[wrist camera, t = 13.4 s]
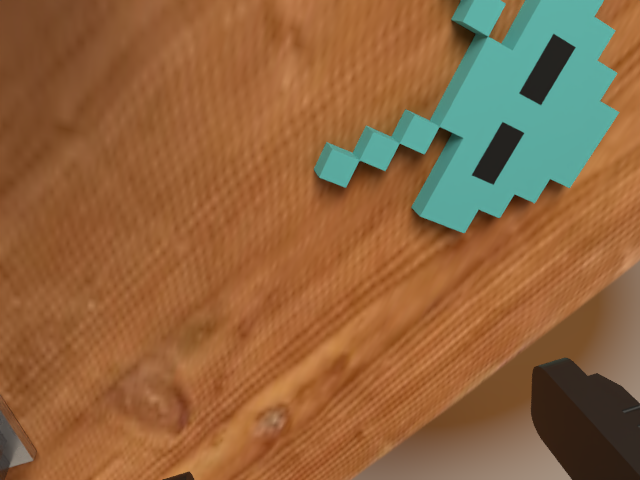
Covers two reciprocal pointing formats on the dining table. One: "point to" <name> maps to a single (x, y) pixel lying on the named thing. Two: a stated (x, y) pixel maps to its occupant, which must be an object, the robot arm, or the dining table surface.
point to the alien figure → (503, 112)
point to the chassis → (12, 442)
